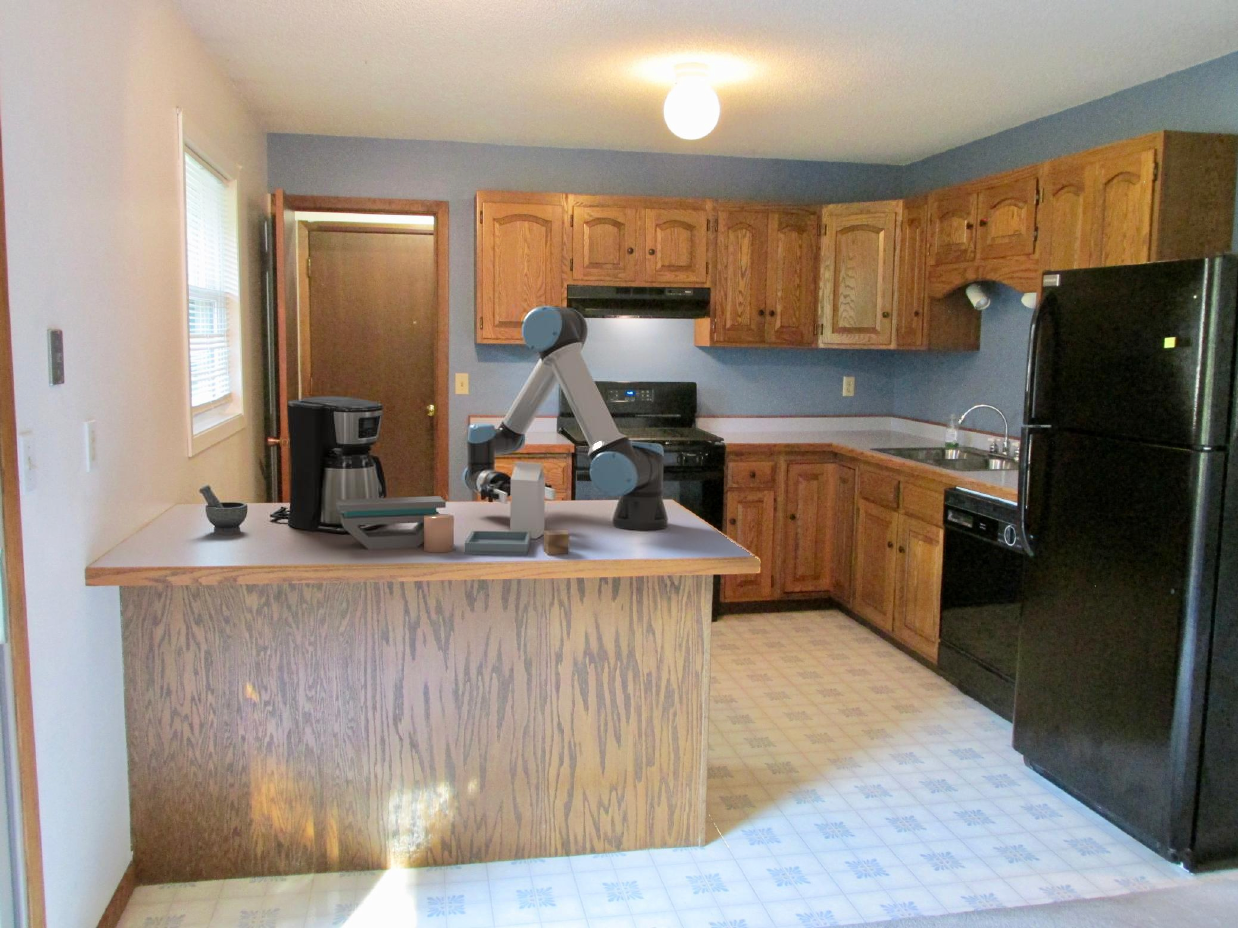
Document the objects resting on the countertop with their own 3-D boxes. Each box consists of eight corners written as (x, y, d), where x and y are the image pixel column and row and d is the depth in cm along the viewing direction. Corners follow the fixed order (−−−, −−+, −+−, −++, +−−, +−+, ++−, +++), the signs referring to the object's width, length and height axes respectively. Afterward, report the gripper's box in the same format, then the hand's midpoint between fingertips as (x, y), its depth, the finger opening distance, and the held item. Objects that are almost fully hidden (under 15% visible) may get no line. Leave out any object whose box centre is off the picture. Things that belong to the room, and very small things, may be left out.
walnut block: (563, 550, 239) (564, 529, 238) (568, 554, 234) (569, 534, 234) (543, 551, 237) (543, 530, 237) (548, 555, 233) (548, 534, 232)
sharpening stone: (439, 538, 248) (439, 496, 246) (445, 545, 240) (445, 501, 239) (336, 543, 239) (335, 499, 238) (339, 550, 232) (338, 505, 230)
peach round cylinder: (456, 546, 239) (456, 514, 238) (451, 552, 232) (451, 519, 231) (427, 546, 239) (427, 513, 238) (421, 552, 232) (421, 518, 231)
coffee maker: (370, 536, 249) (369, 402, 244) (245, 531, 251) (242, 398, 246) (396, 519, 271) (395, 397, 267) (281, 515, 273) (279, 393, 269)
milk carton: (536, 539, 250) (537, 465, 248) (509, 537, 252) (510, 463, 249) (544, 533, 257) (545, 461, 255) (518, 532, 258) (519, 460, 256)
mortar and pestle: (249, 527, 255) (248, 482, 253) (246, 535, 246) (245, 487, 244) (202, 528, 252) (201, 482, 250) (197, 536, 243) (196, 488, 241)
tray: (530, 541, 247) (530, 531, 246) (527, 554, 232) (527, 544, 232) (471, 540, 246) (472, 530, 246) (464, 553, 232) (464, 542, 231)
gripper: (536, 495, 276) (572, 507, 258) (452, 501, 263) (484, 514, 245) (536, 468, 275) (573, 479, 257) (452, 473, 262) (485, 484, 244)
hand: (530, 496), depth 251 cm, fingers open, 13 cm apart
